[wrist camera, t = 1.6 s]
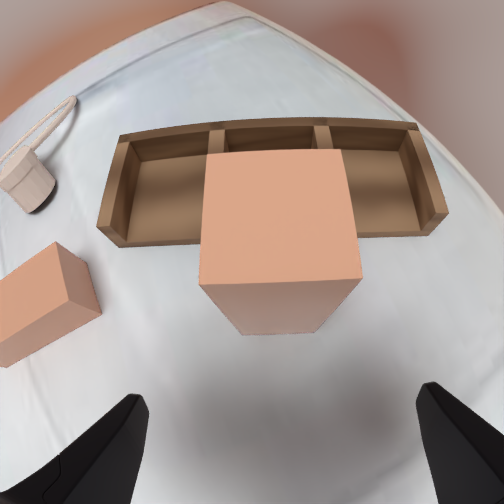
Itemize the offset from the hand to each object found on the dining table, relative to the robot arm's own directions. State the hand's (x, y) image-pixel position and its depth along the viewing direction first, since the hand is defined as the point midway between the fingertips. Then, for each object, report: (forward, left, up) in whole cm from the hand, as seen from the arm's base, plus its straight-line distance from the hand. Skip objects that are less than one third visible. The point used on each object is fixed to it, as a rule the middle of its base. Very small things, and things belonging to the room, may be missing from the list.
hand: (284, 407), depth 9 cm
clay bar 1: (-18, +11, -12) cm, 25 cm away
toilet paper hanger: (-20, +30, -13) cm, 38 cm away
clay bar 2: (+2, +6, -12) cm, 14 cm away
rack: (+5, +15, -12) cm, 20 cm away
